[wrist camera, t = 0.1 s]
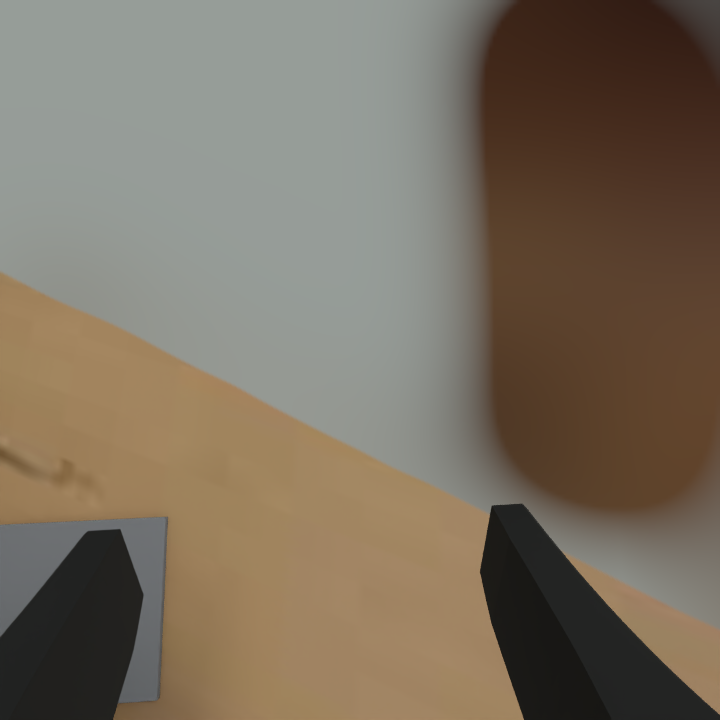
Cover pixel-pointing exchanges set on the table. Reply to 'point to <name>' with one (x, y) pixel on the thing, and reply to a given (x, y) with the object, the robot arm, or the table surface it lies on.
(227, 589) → the table surface
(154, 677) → the mat
